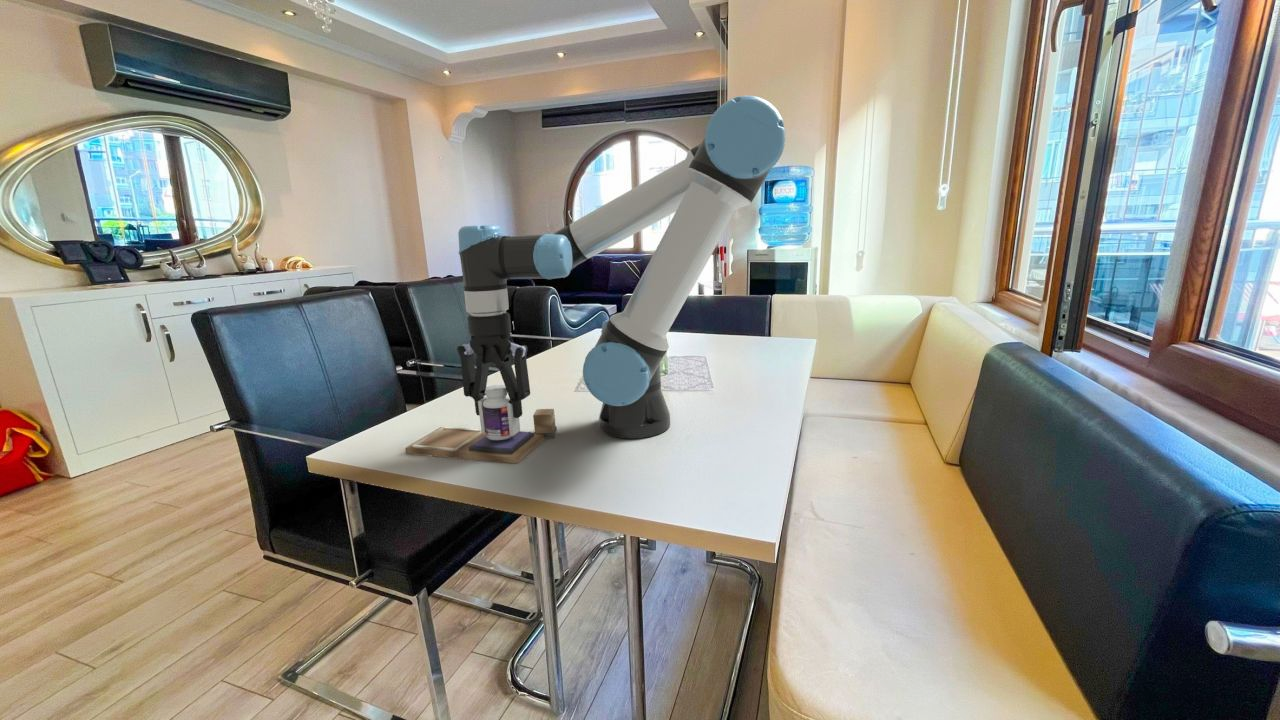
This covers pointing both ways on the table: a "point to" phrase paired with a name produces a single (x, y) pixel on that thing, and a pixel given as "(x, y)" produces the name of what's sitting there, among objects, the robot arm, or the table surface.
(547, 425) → the stamp block
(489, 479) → the table surface
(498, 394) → the pill bottle
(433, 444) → the board
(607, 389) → the robot arm
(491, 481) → the table surface
